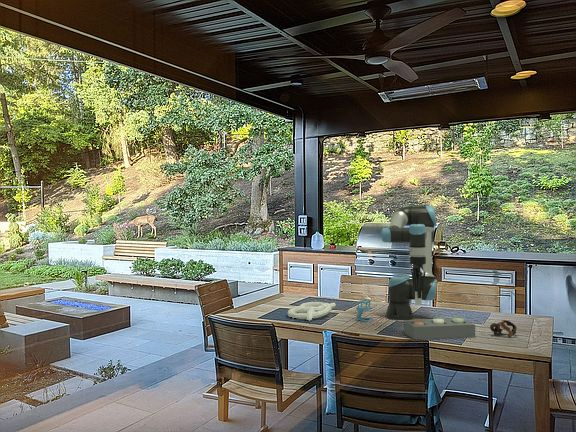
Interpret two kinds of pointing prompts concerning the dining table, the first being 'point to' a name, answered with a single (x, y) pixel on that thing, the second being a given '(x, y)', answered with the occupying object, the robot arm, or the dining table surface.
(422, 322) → the terracotta button
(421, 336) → the button console
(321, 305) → the pretzel
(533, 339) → the dining table surface
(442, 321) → the cream button
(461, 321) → the sage button
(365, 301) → the teal overhanging stand
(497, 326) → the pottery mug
